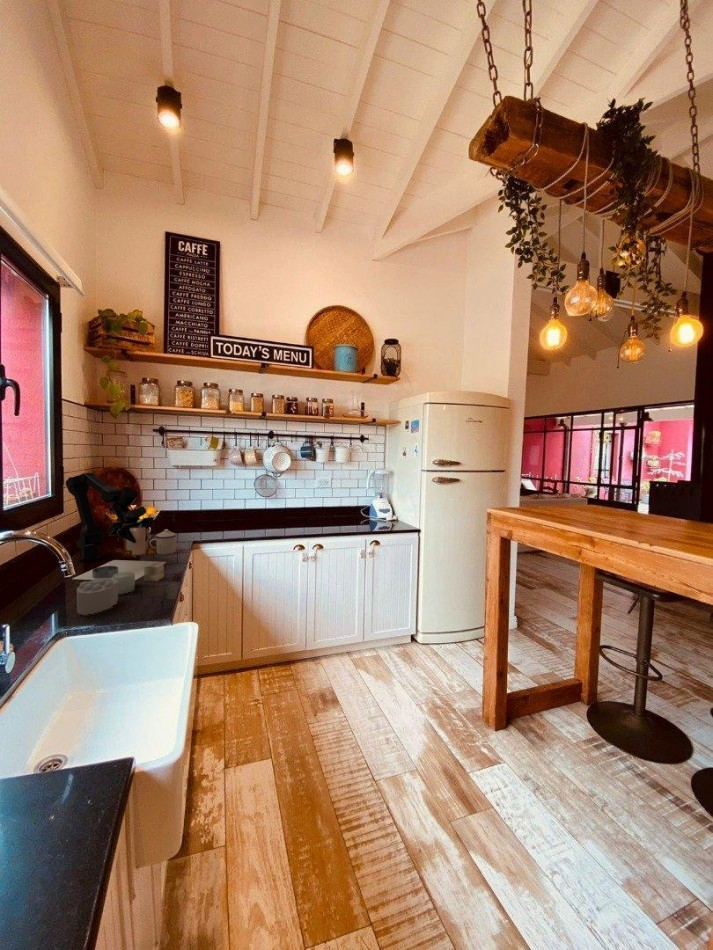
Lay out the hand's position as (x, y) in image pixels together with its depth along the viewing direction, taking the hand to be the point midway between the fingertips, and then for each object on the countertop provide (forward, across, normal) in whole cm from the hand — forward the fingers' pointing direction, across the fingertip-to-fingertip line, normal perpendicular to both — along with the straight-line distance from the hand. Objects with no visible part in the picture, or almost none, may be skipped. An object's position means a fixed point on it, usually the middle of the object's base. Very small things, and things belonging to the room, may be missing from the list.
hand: (141, 541), depth 169 cm
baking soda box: (-12, +20, +31) cm, 39 cm away
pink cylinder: (+3, 0, +5) cm, 5 cm away
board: (+6, -5, +12) cm, 15 cm away
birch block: (+20, -7, -2) cm, 22 cm away
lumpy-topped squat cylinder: (+24, -32, -5) cm, 40 cm away
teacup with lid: (-3, +25, +21) cm, 33 cm away
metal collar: (+6, -13, +10) cm, 18 cm away
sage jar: (+19, -18, -1) cm, 27 cm away
